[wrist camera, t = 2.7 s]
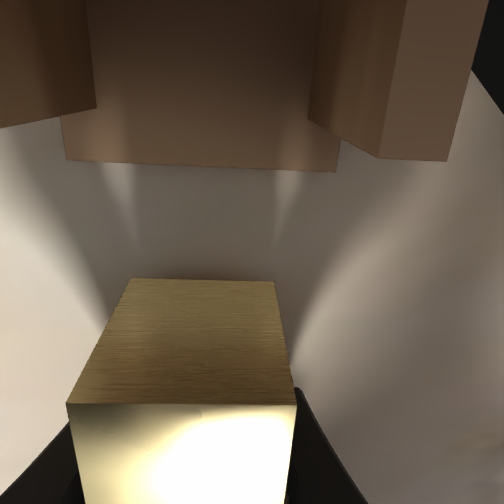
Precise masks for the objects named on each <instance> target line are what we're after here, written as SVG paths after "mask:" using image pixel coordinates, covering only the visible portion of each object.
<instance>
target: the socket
mask: <svg viewBox="0 0 504 504" xmlns="http://www.w3.org/2000/svg"><path fill="white" fill-rule="evenodd" d="M488 2H489V0H0V128H5V127H10V126H15V125H19V124H24V123H29V122H34V121H39V120H43V119H48V118H53V117H58V116H60V118H61V125H62V132H63V139H64V146H65V152H66V159H67V160H72V161H94V162H117V163H139V164H162V165H184V166H207V167H229V168H252V169H274V170H296V171H319V172H336V166H337V159H338V153H339V146H340V139H341V138H342V139H344V140H345V141H347V142H349V143H351V144H353V145H354V146H356V147H358V148H360V149H362V150H363V151H365V152H367V153H369V154H371V155H372V156H374V157H376V158H379V159H400V160H422V161H443V162H447V159H448V155H449V151H450V147H451V143H452V139H453V136H454V132H455V128H456V124H457V120H458V117H459V113H460V109H461V105H462V101H463V97H464V94H465V90H466V86H467V82H468V78H469V74H470V71H471V67H472V63H473V59H474V55H475V52H476V48H477V44H478V40H479V36H480V32H481V29H482V25H483V21H484V17H485V13H486V10H487V6H488Z"/></svg>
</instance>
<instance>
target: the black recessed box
mask: <svg viewBox="0 0 504 504" xmlns="http://www.w3.org/2000/svg"><path fill="white" fill-rule="evenodd" d="M471 70H472V71H473V72H474V74H475V75H476V77H477V78H478V79H479V81H480V82H481V84H482V85H483V86H484V88H485V89H486V91H487V92H488V93H489V95H490V96H491V98H492V99H493V100H494V102H495V103H496V105H497V106H498V107H499V109H500V110H501V111H502V113H503V114H504V0H489V2H488V6H487V10H486V13H485V17H484V21H483V25H482V29H481V32H480V36H479V40H478V44H477V48H476V52H475V55H474V59H473V63H472V67H471Z"/></svg>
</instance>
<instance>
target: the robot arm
mask: <svg viewBox="0 0 504 504" xmlns="http://www.w3.org/2000/svg"><path fill="white" fill-rule="evenodd" d="M294 392H295V397H296V402H297V409H296V416H295V424H294V431H293V438H292V446H291V453H290V460H289V468H288V475H287V489H288V497H289V504H368V503H367V501H366V500H365V498H364V497H363V495H362V494H361V492H360V491H359V489H358V488H357V486H356V485H355V483H354V482H353V480H352V479H351V477H350V476H349V474H348V473H347V471H346V469H345V468H344V466H343V464H342V463H341V461H340V460H339V458H338V456H337V455H336V453H335V452H334V450H333V448H332V447H331V445H330V443H329V442H328V440H327V438H326V436H325V435H324V433H323V431H322V429H321V427H320V426H319V424H318V422H317V420H316V418H315V416H314V414H313V413H312V411H311V409H310V407H309V405H308V403H307V401H306V398H305V396H304V394H303V392H302V390H301V389H300V388H298V387H294ZM84 501H85V498H84V493H83V488H82V483H81V478H80V473H79V468H78V463H77V458H76V453H75V448H74V443H73V438H72V433H71V428H70V423H69V422H68V423H67V424H66V425H65V427H64V428H63V429H62V430H61V431H60V432H59V434H58V435H57V436H56V437H55V438H54V439H53V440H52V441H51V442H50V444H49V445H48V446H47V447H46V448H45V449H44V450H43V451H42V452H41V453H40V455H39V456H38V457H37V458H36V459H35V460H34V461H33V462H32V463H31V465H30V466H29V467H28V468H27V469H26V470H25V471H24V472H23V473H22V474H21V475H20V476H19V477H18V478H17V479H16V480H15V481H14V482H13V483H12V484H11V485H10V486H9V487H8V488H7V489H6V490H5V492H4V493H3V494H2V495H1V496H0V504H84Z"/></svg>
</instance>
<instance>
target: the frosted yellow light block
mask: <svg viewBox="0 0 504 504" xmlns="http://www.w3.org/2000/svg"><path fill="white" fill-rule="evenodd" d="M66 408H67V413H68V418H69V423H70V428H71V433H72V438H73V443H74V448H75V453H76V458H77V463H78V468H79V473H80V478H81V483H82V488H83V493H84V498H85V501H84V504H289V497H288V489H287V475H288V468H289V460H290V453H291V446H292V438H293V431H294V424H295V416H296V409H297V402H296V397H295V392H294V386H293V381H292V376H291V370H290V365H289V360H288V354H287V349H286V344H285V339H284V333H283V328H282V323H281V317H280V312H279V307H278V301H277V296H276V291H275V285H274V282H259V281H223V280H187V279H150V278H131V279H130V281H129V283H128V285H127V287H126V289H125V291H124V293H123V295H122V297H121V298H120V300H119V302H118V304H117V306H116V308H115V310H114V312H113V314H112V316H111V317H110V319H109V321H108V323H107V325H106V327H105V329H104V331H103V333H102V335H101V337H100V338H99V340H98V342H97V344H96V346H95V348H94V350H93V352H92V354H91V356H90V357H89V359H88V361H87V363H86V365H85V367H84V369H83V371H82V373H81V375H80V376H79V378H78V380H77V382H76V384H75V386H74V388H73V390H72V392H71V394H70V396H69V397H68V399H67V401H66Z"/></svg>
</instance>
